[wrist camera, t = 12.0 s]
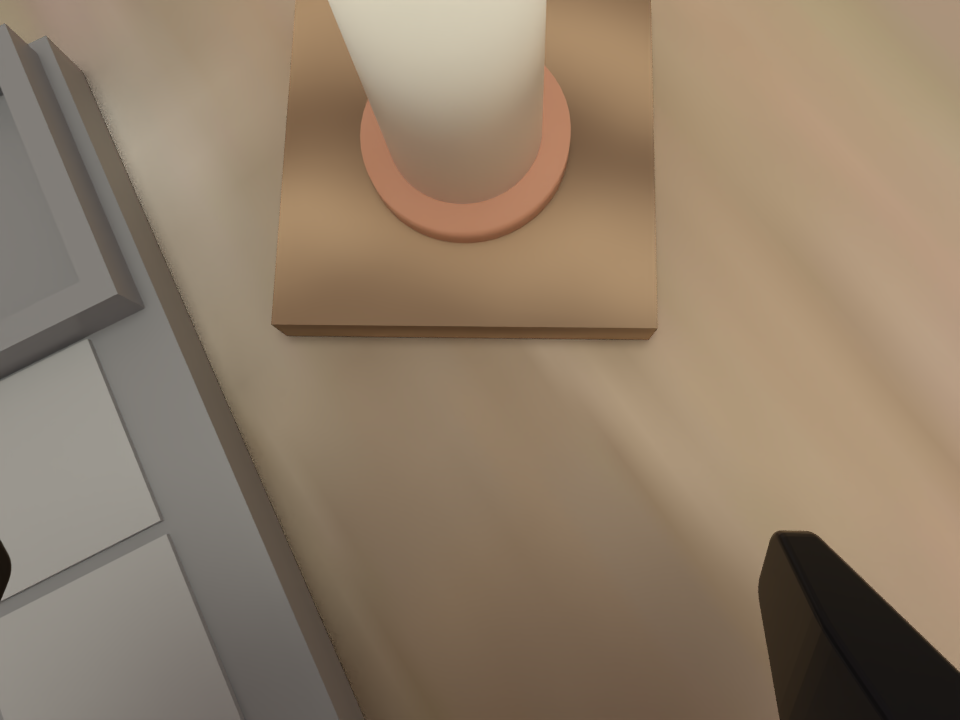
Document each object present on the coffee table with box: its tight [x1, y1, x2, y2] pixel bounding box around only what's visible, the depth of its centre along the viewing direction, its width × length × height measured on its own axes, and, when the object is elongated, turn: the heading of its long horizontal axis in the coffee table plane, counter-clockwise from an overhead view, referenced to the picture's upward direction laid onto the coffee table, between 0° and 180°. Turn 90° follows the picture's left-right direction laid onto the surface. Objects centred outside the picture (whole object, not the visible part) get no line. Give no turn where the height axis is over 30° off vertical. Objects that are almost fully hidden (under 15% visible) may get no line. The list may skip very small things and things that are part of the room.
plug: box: [328, 0, 571, 243], centre depth 17 cm, size 6×6×12 cm
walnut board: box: [271, 0, 658, 340], centre depth 23 cm, size 11×11×2 cm
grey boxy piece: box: [0, 24, 365, 720], centre depth 21 cm, size 24×10×4 cm, turn 27°
